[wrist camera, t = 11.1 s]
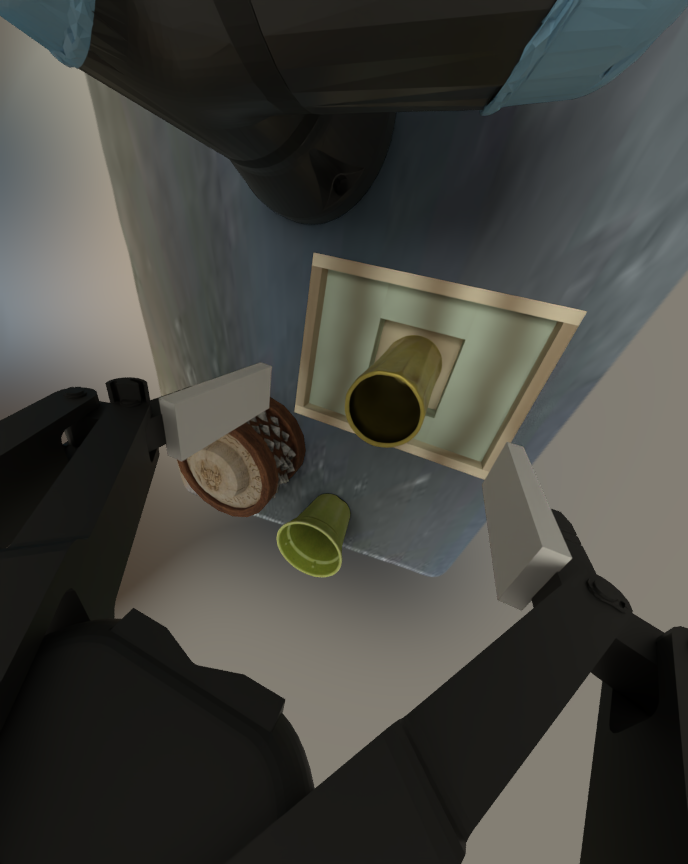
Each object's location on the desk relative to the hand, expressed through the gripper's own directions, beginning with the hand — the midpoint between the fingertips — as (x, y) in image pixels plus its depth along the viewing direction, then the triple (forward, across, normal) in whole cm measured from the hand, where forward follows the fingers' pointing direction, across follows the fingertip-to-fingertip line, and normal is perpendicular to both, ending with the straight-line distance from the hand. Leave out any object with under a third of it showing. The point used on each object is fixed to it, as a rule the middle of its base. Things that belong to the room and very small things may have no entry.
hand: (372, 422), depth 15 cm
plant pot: (+18, -5, -26) cm, 32 cm away
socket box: (+18, 0, 0) cm, 18 cm away
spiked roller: (+18, -18, -18) cm, 31 cm away
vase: (+17, 0, 0) cm, 17 cm away
